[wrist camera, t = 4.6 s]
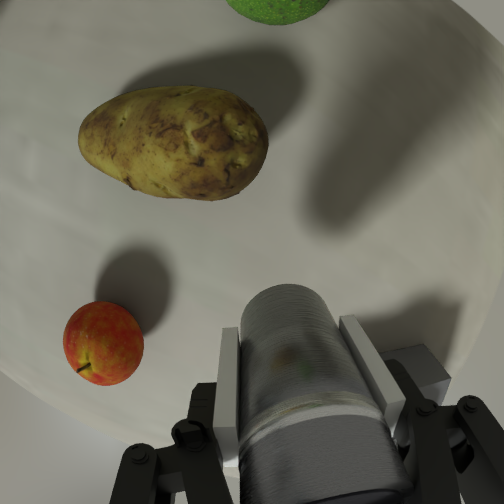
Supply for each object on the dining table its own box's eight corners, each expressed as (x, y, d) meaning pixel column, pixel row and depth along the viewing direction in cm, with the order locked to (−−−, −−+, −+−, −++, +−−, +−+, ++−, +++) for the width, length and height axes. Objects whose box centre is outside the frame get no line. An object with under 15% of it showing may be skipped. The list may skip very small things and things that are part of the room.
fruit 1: (168, 329, 26) (142, 387, 18) (125, 364, 27) (96, 419, 19) (112, 273, 24) (65, 315, 16) (74, 316, 25) (31, 361, 18)
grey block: (301, 425, 29) (310, 482, 22) (302, 364, 27) (316, 427, 19) (407, 404, 29) (432, 451, 21) (423, 343, 26) (461, 391, 19)
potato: (137, 61, 19) (91, 26, 11) (280, 132, 21) (296, 115, 13) (88, 152, 21) (28, 153, 13) (223, 227, 23) (209, 260, 15)
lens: (244, 364, 18) (247, 554, 6) (235, 287, 16) (224, 508, 5) (328, 355, 18) (392, 529, 6) (331, 278, 16) (444, 462, 5)
